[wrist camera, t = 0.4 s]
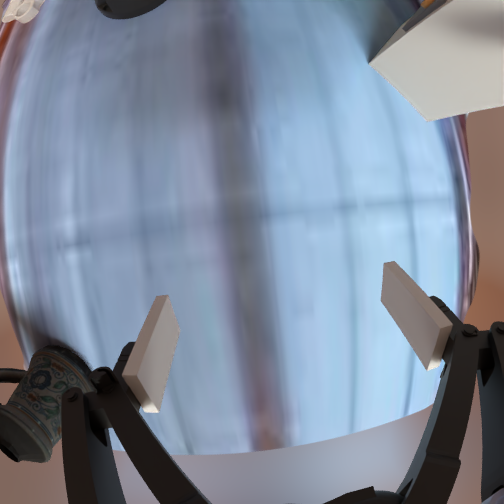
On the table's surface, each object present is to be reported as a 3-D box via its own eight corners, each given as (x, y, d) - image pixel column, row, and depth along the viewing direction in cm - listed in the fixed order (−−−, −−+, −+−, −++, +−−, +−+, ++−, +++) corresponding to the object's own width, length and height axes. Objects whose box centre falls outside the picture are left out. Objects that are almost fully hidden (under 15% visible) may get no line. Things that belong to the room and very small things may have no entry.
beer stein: (103, 414, 50) (64, 499, 25) (34, 384, 48) (-17, 450, 23) (99, 358, 46) (38, 452, 22) (23, 327, 44) (-49, 390, 20)
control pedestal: (427, 122, 39) (570, 97, 10) (361, 58, 36) (478, -35, 7) (453, 77, 37) (569, 42, 8) (395, 20, 34) (493, -57, 5)
